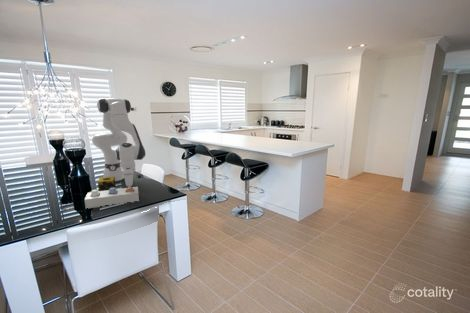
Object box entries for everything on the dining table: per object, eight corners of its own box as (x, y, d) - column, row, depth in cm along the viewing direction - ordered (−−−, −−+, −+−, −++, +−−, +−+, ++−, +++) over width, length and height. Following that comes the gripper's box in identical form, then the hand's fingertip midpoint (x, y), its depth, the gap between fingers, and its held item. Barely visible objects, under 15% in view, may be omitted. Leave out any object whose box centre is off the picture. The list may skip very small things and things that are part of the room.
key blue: (110, 195, 152) (109, 187, 151) (116, 194, 154) (116, 187, 153) (109, 197, 149) (108, 190, 148) (116, 196, 150) (116, 189, 149)
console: (88, 201, 152) (87, 192, 150) (138, 194, 164) (137, 186, 162) (85, 208, 141) (84, 199, 140) (139, 201, 153) (138, 192, 152)
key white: (92, 197, 148) (91, 189, 147) (99, 196, 150) (98, 189, 149) (91, 199, 145) (90, 192, 144) (99, 198, 146) (98, 191, 145)
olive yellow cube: (101, 190, 171) (99, 177, 169) (116, 188, 174) (115, 176, 172) (98, 195, 162) (96, 181, 159) (114, 193, 165) (113, 180, 163)
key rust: (127, 194, 157) (126, 187, 156) (133, 193, 158) (132, 186, 157) (127, 196, 153) (126, 189, 152) (133, 195, 155) (133, 188, 154)
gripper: (123, 164, 159) (124, 183, 162) (122, 172, 141) (124, 194, 144) (133, 163, 162) (134, 182, 165) (133, 171, 144) (135, 192, 147)
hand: (129, 188), depth 155 cm, fingers closed, pressing on key rust
